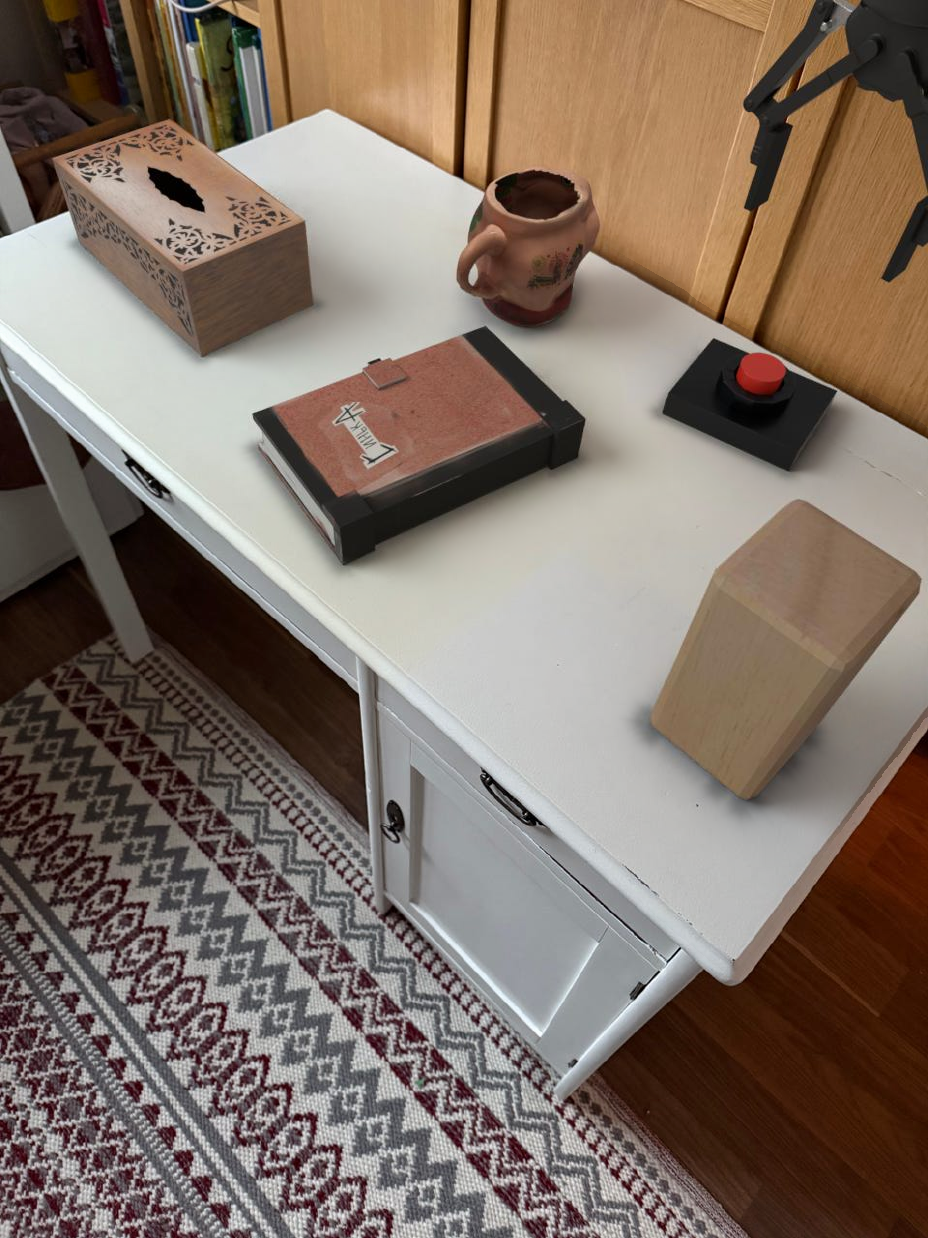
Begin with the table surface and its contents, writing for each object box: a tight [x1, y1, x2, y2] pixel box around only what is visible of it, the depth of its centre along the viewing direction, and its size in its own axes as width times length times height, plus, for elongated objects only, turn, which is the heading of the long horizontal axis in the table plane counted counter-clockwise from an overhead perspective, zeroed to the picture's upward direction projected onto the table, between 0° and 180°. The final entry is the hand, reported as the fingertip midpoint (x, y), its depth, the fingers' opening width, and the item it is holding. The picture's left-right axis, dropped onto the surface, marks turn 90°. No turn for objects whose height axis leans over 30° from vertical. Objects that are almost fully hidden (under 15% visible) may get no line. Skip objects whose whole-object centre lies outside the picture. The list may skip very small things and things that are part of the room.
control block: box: [662, 337, 838, 472], centre depth 92 cm, size 14×11×4 cm
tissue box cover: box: [51, 118, 314, 357], centre depth 99 cm, size 26×14×10 cm, turn 42°
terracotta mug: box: [455, 166, 601, 327], centre depth 97 cm, size 20×12×14 cm, turn 141°
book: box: [251, 325, 587, 566], centre depth 87 cm, size 26×18×5 cm
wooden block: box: [649, 498, 923, 801], centre depth 64 cm, size 10×10×20 cm
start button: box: [736, 352, 786, 395], centre depth 90 cm, size 4×4×2 cm
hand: (821, 238), depth 77 cm, fingers open, 13 cm apart
